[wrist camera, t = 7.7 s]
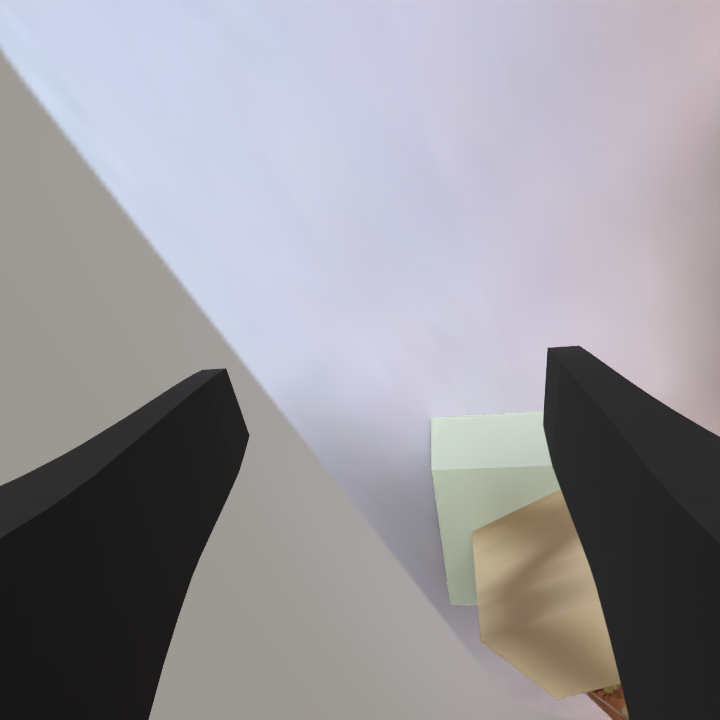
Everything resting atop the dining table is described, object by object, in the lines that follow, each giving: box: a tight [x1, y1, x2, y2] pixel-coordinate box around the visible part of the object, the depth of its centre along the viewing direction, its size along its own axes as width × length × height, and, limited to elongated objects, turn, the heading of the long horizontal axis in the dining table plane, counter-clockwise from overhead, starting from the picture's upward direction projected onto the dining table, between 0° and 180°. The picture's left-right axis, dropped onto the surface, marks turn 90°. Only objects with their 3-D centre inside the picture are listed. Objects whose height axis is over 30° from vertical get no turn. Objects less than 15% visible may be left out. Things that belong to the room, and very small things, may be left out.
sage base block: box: [431, 411, 560, 606], centre depth 23 cm, size 10×10×4 cm
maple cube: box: [472, 489, 621, 700], centre depth 19 cm, size 5×5×5 cm
